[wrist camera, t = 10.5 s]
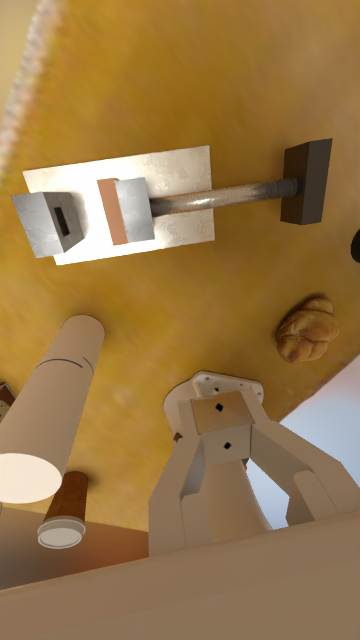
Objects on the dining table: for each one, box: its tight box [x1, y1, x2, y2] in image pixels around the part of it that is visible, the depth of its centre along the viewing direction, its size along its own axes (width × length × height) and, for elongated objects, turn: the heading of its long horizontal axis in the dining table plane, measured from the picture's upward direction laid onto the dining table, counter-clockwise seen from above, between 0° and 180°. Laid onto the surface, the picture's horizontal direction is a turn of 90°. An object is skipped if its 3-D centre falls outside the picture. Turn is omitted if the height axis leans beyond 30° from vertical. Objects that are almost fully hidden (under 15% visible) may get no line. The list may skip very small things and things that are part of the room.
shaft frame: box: [11, 145, 215, 265], centre depth 30 cm, size 24×12×11 cm, turn 97°
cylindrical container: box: [0, 315, 105, 503], centre depth 32 cm, size 7×7×25 cm
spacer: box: [96, 177, 130, 246], centre depth 31 cm, size 2×7×7 cm, turn 7°
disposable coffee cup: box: [38, 472, 88, 548], centre depth 56 cm, size 10×10×12 cm
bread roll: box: [277, 297, 340, 364], centre depth 44 cm, size 13×10×8 cm
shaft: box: [149, 138, 332, 225], centre depth 28 cm, size 21×8×5 cm, turn 97°
